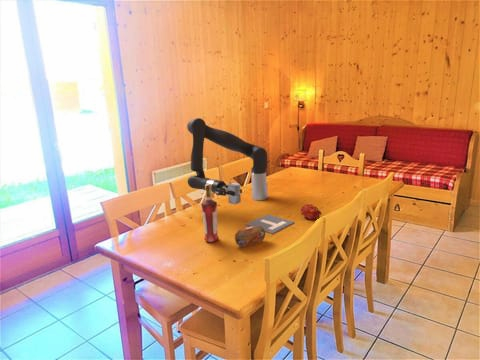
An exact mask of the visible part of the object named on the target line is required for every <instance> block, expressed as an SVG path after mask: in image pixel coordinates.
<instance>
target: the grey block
mask: <svg viewBox="0 0 480 360" xmlns="http://www.w3.org/2000/svg"><path fill="white" fill-rule="evenodd" d="M227 185H228V190H230V191H234V192H235V196H232V195H227V196H228V204H231V205H237V204H240V203H242V201H241V199H242V198H241V193H240V189H241V184H240V183H237V182H232V183H228V184H227Z"/></svg>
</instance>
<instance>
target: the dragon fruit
mask: <svg viewBox="0 0 480 360" xmlns="http://www.w3.org/2000/svg"><path fill="white" fill-rule="evenodd" d="M322 214H323V213H322V211H321V210H319V208H318V207H317V206H314V205H313V204H308V203H306V204H303V205H302V207H301V208H300V215H301V216H304V218H305V219H306V220H307V219H310V220H311V221H315V220H317V219H316V218H320V215H322Z"/></svg>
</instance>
